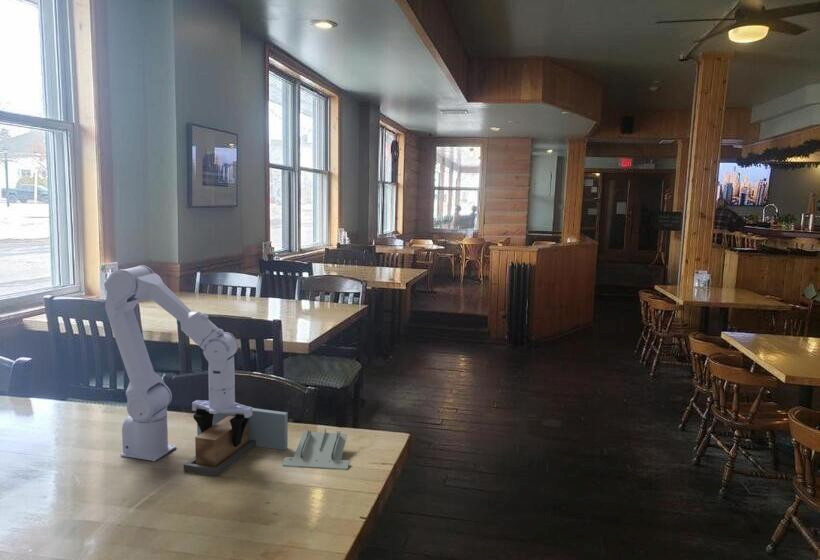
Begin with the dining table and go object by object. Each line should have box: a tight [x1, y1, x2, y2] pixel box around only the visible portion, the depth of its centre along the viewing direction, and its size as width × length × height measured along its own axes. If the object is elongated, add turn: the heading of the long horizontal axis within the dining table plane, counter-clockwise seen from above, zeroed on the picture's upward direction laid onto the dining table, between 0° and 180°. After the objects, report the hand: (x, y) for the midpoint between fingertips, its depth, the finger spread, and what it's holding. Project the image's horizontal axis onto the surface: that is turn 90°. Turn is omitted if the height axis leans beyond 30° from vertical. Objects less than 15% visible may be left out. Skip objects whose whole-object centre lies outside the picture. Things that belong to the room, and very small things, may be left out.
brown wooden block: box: [194, 415, 248, 467], centre depth 134 cm, size 5×14×7 cm, turn 166°
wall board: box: [183, 407, 289, 477], centre depth 134 cm, size 24×18×9 cm
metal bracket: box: [281, 427, 350, 471], centre depth 136 cm, size 14×6×15 cm
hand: (222, 442), depth 134 cm, fingers open, 7 cm apart
